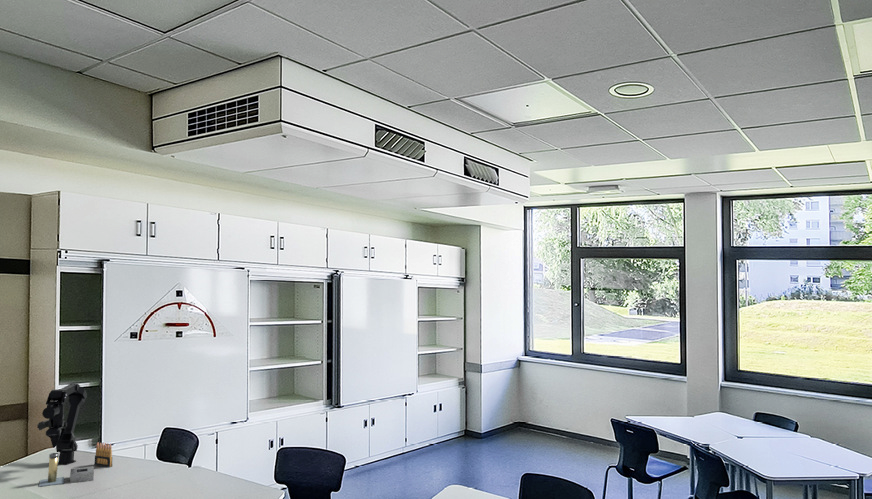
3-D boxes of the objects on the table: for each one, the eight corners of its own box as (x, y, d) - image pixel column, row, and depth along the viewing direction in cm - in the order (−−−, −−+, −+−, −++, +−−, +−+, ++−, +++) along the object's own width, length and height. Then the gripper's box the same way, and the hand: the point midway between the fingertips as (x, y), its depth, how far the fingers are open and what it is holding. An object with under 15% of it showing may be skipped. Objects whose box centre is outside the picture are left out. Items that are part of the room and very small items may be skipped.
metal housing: (70, 477, 313) (70, 468, 313) (93, 474, 318) (93, 466, 318) (69, 483, 304) (70, 474, 304) (93, 480, 309) (93, 471, 309)
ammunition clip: (112, 466, 331) (113, 443, 331) (109, 467, 329) (110, 444, 330) (97, 464, 335) (98, 441, 335) (94, 465, 333) (95, 442, 333)
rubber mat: (40, 480, 307) (40, 479, 307) (64, 477, 312) (64, 476, 312) (38, 486, 298) (39, 486, 298) (63, 483, 303) (63, 482, 303)
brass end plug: (54, 479, 308) (56, 452, 308) (57, 481, 305) (59, 454, 306) (46, 481, 305) (48, 454, 305) (49, 483, 302) (51, 455, 303)
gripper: (43, 411, 330) (42, 441, 329) (34, 419, 312) (33, 451, 312) (67, 410, 334) (66, 439, 333) (60, 417, 316) (58, 449, 315)
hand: (56, 444), depth 323 cm, fingers open, 9 cm apart
